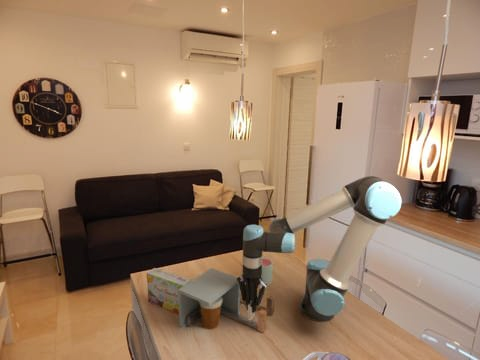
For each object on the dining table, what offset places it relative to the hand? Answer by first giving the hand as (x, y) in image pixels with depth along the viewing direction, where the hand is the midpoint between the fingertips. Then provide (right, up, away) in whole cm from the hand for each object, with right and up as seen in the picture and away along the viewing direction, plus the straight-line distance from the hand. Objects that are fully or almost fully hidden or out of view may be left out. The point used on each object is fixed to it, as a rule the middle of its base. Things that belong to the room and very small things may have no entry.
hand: (251, 318), depth 126 cm
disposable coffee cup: (-16, -3, +1) cm, 17 cm away
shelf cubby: (-17, -2, +3) cm, 17 cm away
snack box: (-35, 0, +12) cm, 37 cm away
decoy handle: (+1, -1, +13) cm, 13 cm away
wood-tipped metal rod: (-10, -3, -1) cm, 10 cm away
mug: (+9, +4, +37) cm, 38 cm away
